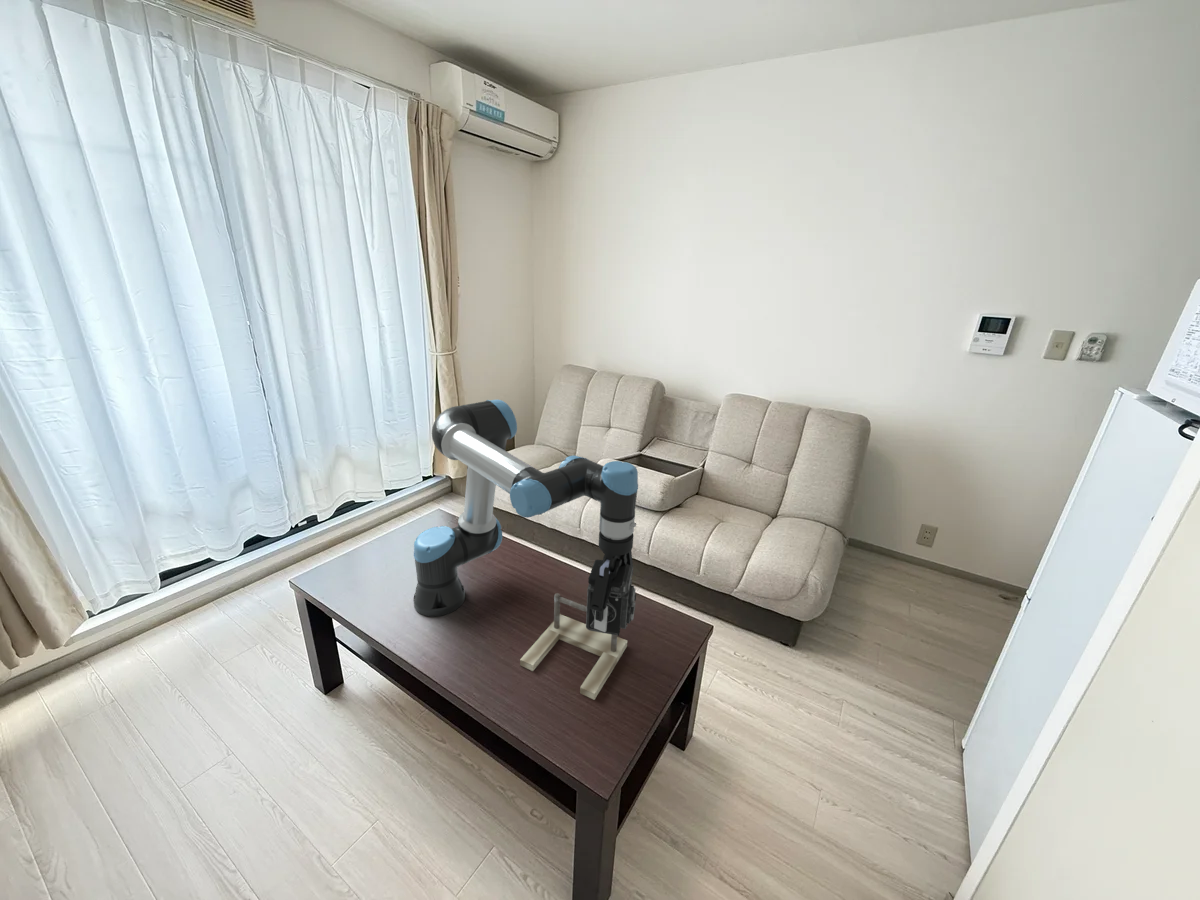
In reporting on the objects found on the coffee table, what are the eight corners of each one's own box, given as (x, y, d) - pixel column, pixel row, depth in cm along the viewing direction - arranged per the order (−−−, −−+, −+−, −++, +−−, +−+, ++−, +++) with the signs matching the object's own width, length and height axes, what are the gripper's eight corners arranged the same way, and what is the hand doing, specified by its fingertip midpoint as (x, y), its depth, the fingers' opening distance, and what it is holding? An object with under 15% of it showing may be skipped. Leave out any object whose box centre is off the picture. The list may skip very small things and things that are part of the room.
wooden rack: (520, 665, 121) (519, 625, 116) (559, 619, 138) (560, 583, 133) (594, 700, 112) (596, 658, 107) (627, 646, 129) (630, 608, 124)
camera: (630, 643, 103) (634, 588, 98) (584, 635, 105) (586, 580, 99) (635, 612, 113) (640, 561, 107) (593, 605, 114) (596, 554, 109)
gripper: (609, 564, 88) (604, 653, 96) (651, 513, 108) (643, 590, 116) (575, 553, 91) (572, 640, 99) (622, 506, 111) (616, 581, 119)
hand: (611, 613), depth 108 cm, fingers closed on camera, 11 cm apart
